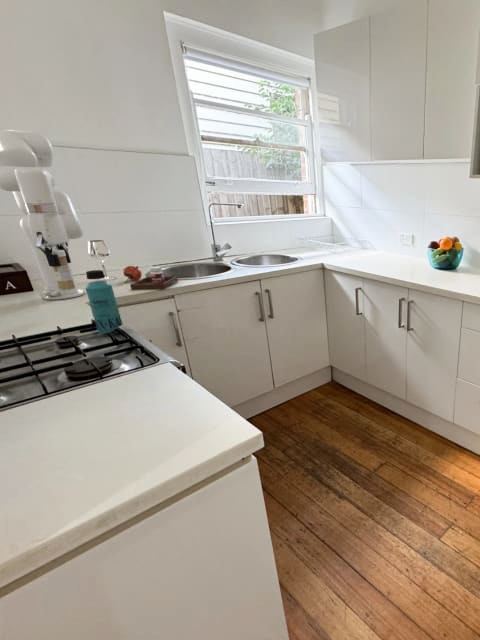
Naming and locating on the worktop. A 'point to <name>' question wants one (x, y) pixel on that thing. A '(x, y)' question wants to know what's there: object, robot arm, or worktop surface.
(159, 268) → the pill bottle
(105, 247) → the wineglass
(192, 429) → the worktop surface
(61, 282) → the sprinkles bottle
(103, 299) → the beverage bottle
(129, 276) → the pomegranate
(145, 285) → the tray
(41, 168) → the robot arm
